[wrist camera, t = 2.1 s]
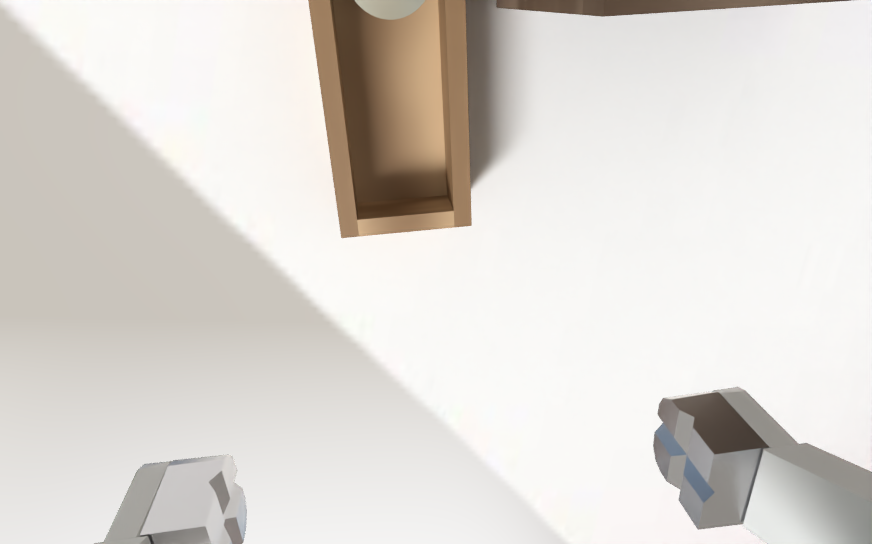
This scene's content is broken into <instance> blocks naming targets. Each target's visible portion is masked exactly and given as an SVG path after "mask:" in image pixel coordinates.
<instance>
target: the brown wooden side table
mask: <svg viewBox="0 0 872 544" xmlns="http://www.w3.org/2000/svg"><path fill="white" fill-rule="evenodd" d="M834 1H849V0H497V8H507V9H519V10H531V11H544V12H556V13H568V14H580V15H593V16H617V15H632V14H648V13H663V12H679V11H694V10H710V9H725V8H741V7H756V6H772V5H787V4H803V3H818V2H834Z"/></svg>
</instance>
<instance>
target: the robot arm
mask: <svg viewBox="0 0 872 544" xmlns="http://www.w3.org/2000/svg"><path fill="white" fill-rule="evenodd" d="M658 416H659V417H660V419H661V420H662V421H663V424H662V425H661V426H660V427H659V428H658V429H657V430H656V431H655V434H654V444H653V447H654V453H655V459H656V462H657V464H658V467H659V469H660V471H661V473H662V475H663V476H664V478H665V479H666V481H667V482H669V483H670V484H672V485H674V486H675V487H677V488H679V489H680V495H679V501H680V503H681V504H682V506H683V507H684V509H685V511H686V512H687V514H688V515H689V517H690V518H691V520H692V521H693V523H694V524H695V526H696V527H697V529H706V528H714V527H722V526H730V525H738V524H743V527H744V528H746V529H747V530H748V531H750V532H751V533H753V534H754V535H755V536H757V537H758V538H760V539H761V540H762V541H764V542H765V543H767V544H872V472H871V471H868V470H866V469H864V468H862V467H859V466H857V465H855V464H853V463H850V462H848V461H846V460H844V459H841V458H839V457H837V456H835V455H832V454H830V453H828V452H826V451H823V450H821V449H819V448H817V447H814V446H812V445H810V444H808V443H803V444H798V443H797V442H796V441H795V440H794V439H793V438H792V437H791V436H790V435H789V434H788V433H787V432H786V431H785V430H784V429H783V428H782V427H781V426H780V425H779V424H778V423H777V422H776V421H775V420H774V419H773V418H772V417H771V416H770V415H769V414H768V413H767V412H766V411H765V410H764V409H763V408H762V407H761V406H760V405H759V404H758V403H757V402H756V401H755V400H754V399H753V398H752V397H751V396H750V395H749V394H748V393H747V392H746V391H745V390H743V389H741V388H739V387H734V388H728V389H721V390H714V391H712V392H703V393H695V394H688V395H681V396H674V397H666V398H663V399H662V401H661V402H660V404H659V409H658ZM236 473H237V468H236V465H235V462H234V459H233V457H232V456H231V455H220V456H210V457H201V458H191V459H183V460H173V461H170V462H160V463H150V464H144V465H143V466H142V467H140V468H139V469H138V471H137V472H136V474H135V476H134V479H133V481H132V483H131V485H130V487H129V489H128V492H127V494H126V496H125V498H124V500H123V502H122V504H121V506H120V508H119V510H118V513H117V515H116V517H115V519H114V521H113V523H112V526H111V528H110V530H109V532H108V534H107V536H106V538H105V540H104V542H100V543H95V544H242V543H243V541H244V536H245V531H246V514H247V510H246V503H245V502H246V501H245V496H244V492H243V489H242V488H241V487H240V486H239V485H237V484H236V483H234V481H235V477H236Z"/></svg>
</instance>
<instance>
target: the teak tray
mask: <svg viewBox="0 0 872 544" xmlns="http://www.w3.org/2000/svg"><path fill="white" fill-rule="evenodd" d="M308 1H309V8H310V15H311V22H312V30H313V37H314V44H315V51H316V58H317V66H318V73H319V80H320V87H321V94H322V102H323V109H324V116H325V123H326V130H327V137H328V145H329V152H330V159H331V166H332V173H333V181H334V188H335V195H336V202H337V209H338V217H339V224H340V231H341V238H347V237H357V236H368V235H378V234H389V233H400V232H410V231H421V230H431V229H442V228H452V227H463V226H471V188H470V151H469V113H468V76H467V38H466V1H465V0H308Z"/></svg>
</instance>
